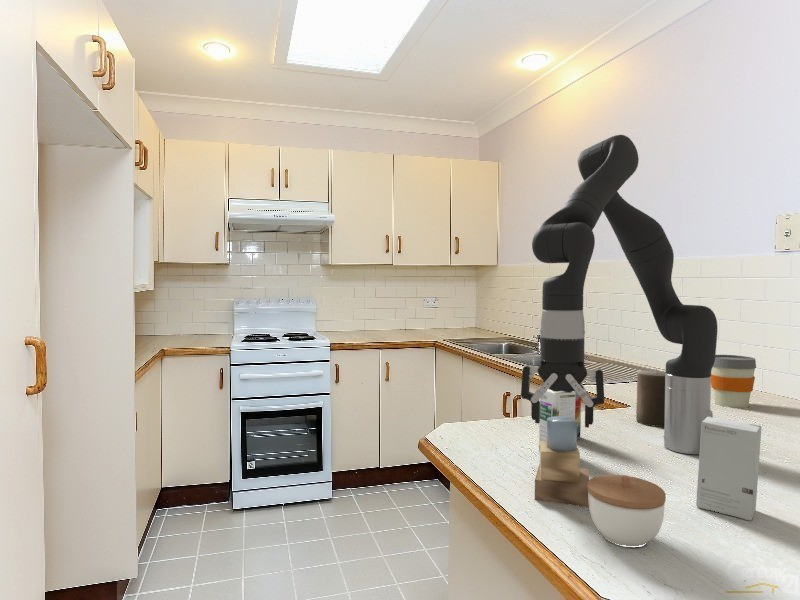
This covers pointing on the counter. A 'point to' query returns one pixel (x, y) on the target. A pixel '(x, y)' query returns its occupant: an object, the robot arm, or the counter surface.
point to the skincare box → (728, 467)
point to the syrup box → (555, 409)
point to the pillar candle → (651, 398)
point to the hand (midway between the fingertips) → (561, 424)
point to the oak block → (559, 464)
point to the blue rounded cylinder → (562, 434)
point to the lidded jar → (626, 508)
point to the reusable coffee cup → (733, 380)
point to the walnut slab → (563, 490)
